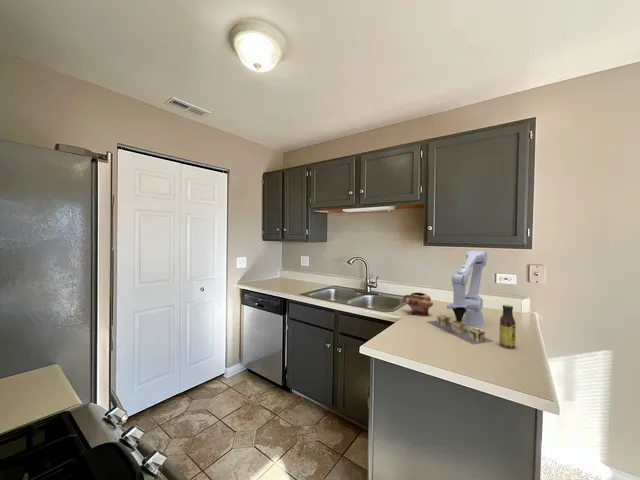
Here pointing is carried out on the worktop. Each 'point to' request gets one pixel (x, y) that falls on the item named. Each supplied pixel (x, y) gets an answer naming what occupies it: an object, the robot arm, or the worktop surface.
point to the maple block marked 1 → (443, 320)
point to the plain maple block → (458, 327)
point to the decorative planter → (419, 303)
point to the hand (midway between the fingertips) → (458, 321)
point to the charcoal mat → (462, 335)
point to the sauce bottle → (507, 328)
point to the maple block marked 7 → (476, 334)
